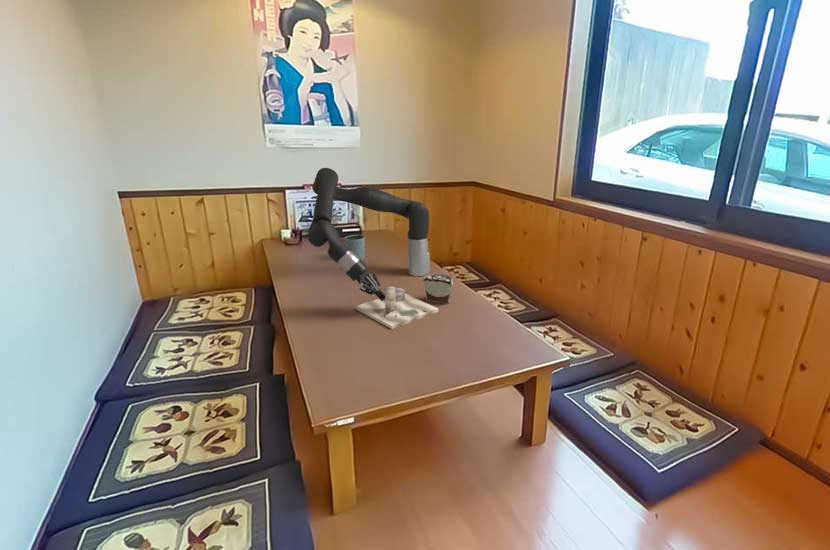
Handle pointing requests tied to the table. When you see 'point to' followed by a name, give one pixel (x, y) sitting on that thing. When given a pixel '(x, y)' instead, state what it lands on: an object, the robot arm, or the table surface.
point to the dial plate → (397, 311)
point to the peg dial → (393, 297)
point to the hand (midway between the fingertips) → (384, 298)
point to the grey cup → (356, 245)
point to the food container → (438, 287)
